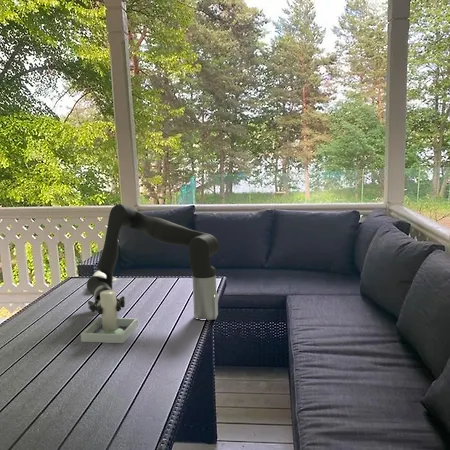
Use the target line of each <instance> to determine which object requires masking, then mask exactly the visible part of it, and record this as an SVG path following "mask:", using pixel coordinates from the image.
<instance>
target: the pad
mask: <svg viewBox="0 0 450 450" xmlns="http://www.w3.org/2000/svg"><path fill="white" fill-rule="evenodd" d="M123 332H124V330H123V328H120V327H118V329H117V330H116V331H113V332H104V331H103V329H102V330H100V331H99V332H98V333H105V334H122V333H123Z"/></svg>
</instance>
